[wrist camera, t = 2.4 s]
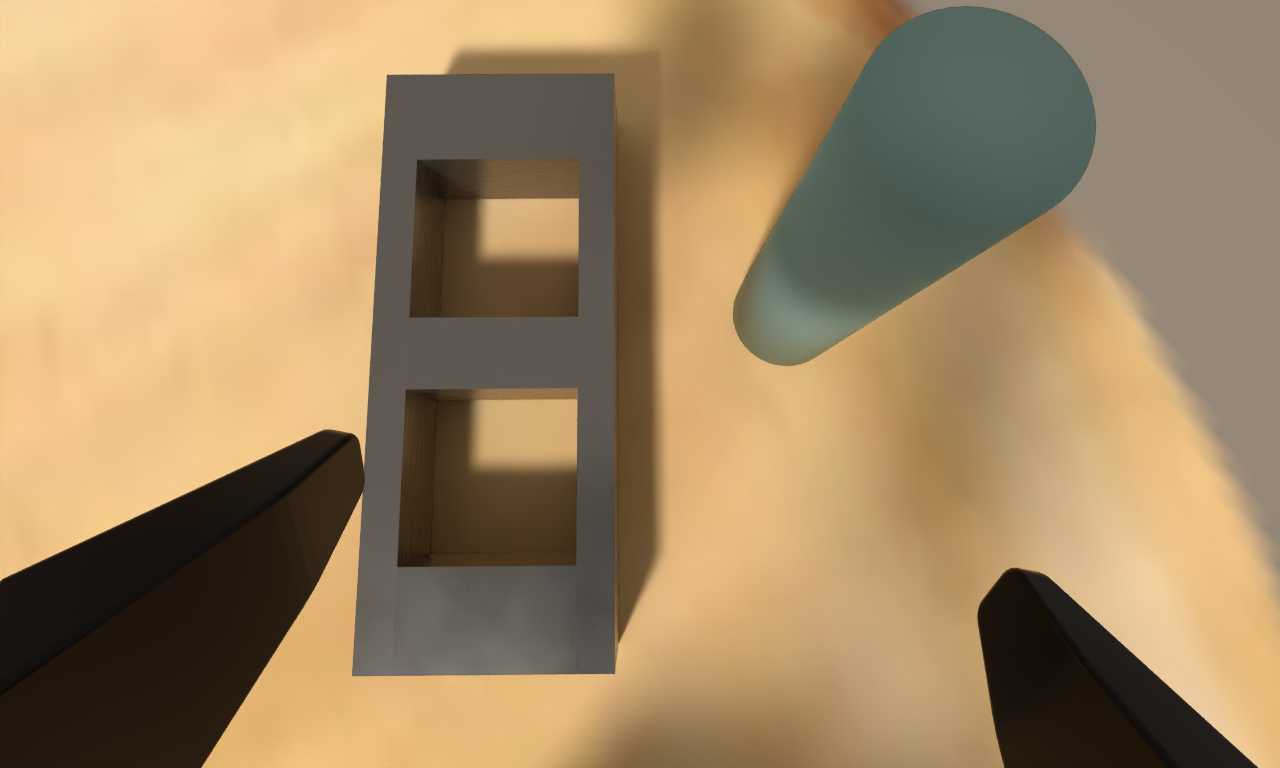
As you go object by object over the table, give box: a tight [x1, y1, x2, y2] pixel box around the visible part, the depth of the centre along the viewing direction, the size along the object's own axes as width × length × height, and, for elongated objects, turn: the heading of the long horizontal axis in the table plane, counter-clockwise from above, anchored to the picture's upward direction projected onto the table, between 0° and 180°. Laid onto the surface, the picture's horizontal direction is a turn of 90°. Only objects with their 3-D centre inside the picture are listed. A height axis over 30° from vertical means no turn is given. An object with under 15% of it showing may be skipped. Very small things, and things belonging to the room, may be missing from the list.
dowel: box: [733, 6, 1096, 366], centre depth 16 cm, size 4×4×13 cm
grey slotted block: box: [352, 74, 618, 676], centre depth 21 cm, size 20×8×3 cm, turn 0°
